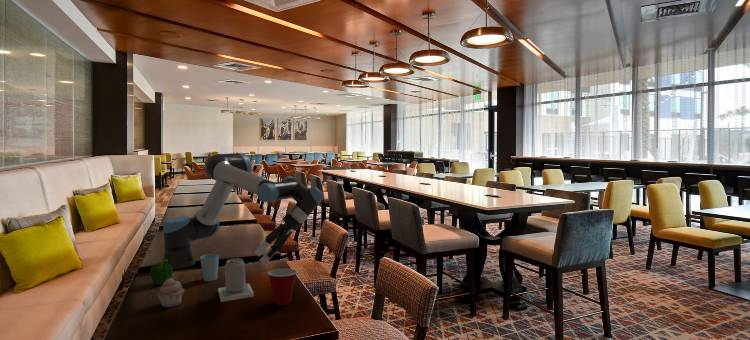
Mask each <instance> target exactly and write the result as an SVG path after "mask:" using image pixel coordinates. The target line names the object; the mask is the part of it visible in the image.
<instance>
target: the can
mask: <svg viewBox="0 0 750 340" xmlns="http://www.w3.org/2000/svg"><path fill="white" fill-rule="evenodd" d="M224 277H225V278H224V280H225V281H224V282H225V286H224V287H226V290H227V291H228V292H231V293H236V292H240V291H243V290H244V288H245V287H246V284H247V283H246V263H245V262H244V259H243V258H231V259H228V260H226V262H225V264H224Z"/></svg>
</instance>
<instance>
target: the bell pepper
mask: <svg viewBox="0 0 750 340" xmlns="http://www.w3.org/2000/svg"><path fill="white" fill-rule="evenodd" d="M161 261H162V260H161ZM164 262H168V260H163V261H162V262H160V264H159V263H158V264H157V263H156V264H155V265H153V266H151V268H150V276H151V280H152V283H154V284H155V285H157V286H163V283H164V282H165V281H166V280H168V279H169V278H172V276H173V271H174V269H173V267H172V265H171V264H168V263H165V264H163V263H164Z"/></svg>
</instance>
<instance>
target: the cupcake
mask: <svg viewBox="0 0 750 340" xmlns="http://www.w3.org/2000/svg"><path fill="white" fill-rule="evenodd" d="M184 293H185V288H183V286H182V284H181V283H180V281H178V280H174V279H173V278H172V277H171V278H169V279H168V280H166V281H165V282H164V283H163V285H160V288H159V291H157V294H156V296H157V297H158V299H159V301H160V304H161V306H162V307H163V308H173V307H176V306H179V305H181V303H182V300H183V299H182V297H183V294H184Z"/></svg>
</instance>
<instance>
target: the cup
mask: <svg viewBox="0 0 750 340" xmlns="http://www.w3.org/2000/svg"><path fill="white" fill-rule="evenodd" d="M219 257H220V255H219V254H216V253H208V254H203V255H201V256H200V257H199V260H200V264H201V265H200V266H201V271H202V279H203V281H204V282H214V281H216V280H218V271H219V270H218V269H219V260H220V259H219ZM213 280H214V281H213Z"/></svg>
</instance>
